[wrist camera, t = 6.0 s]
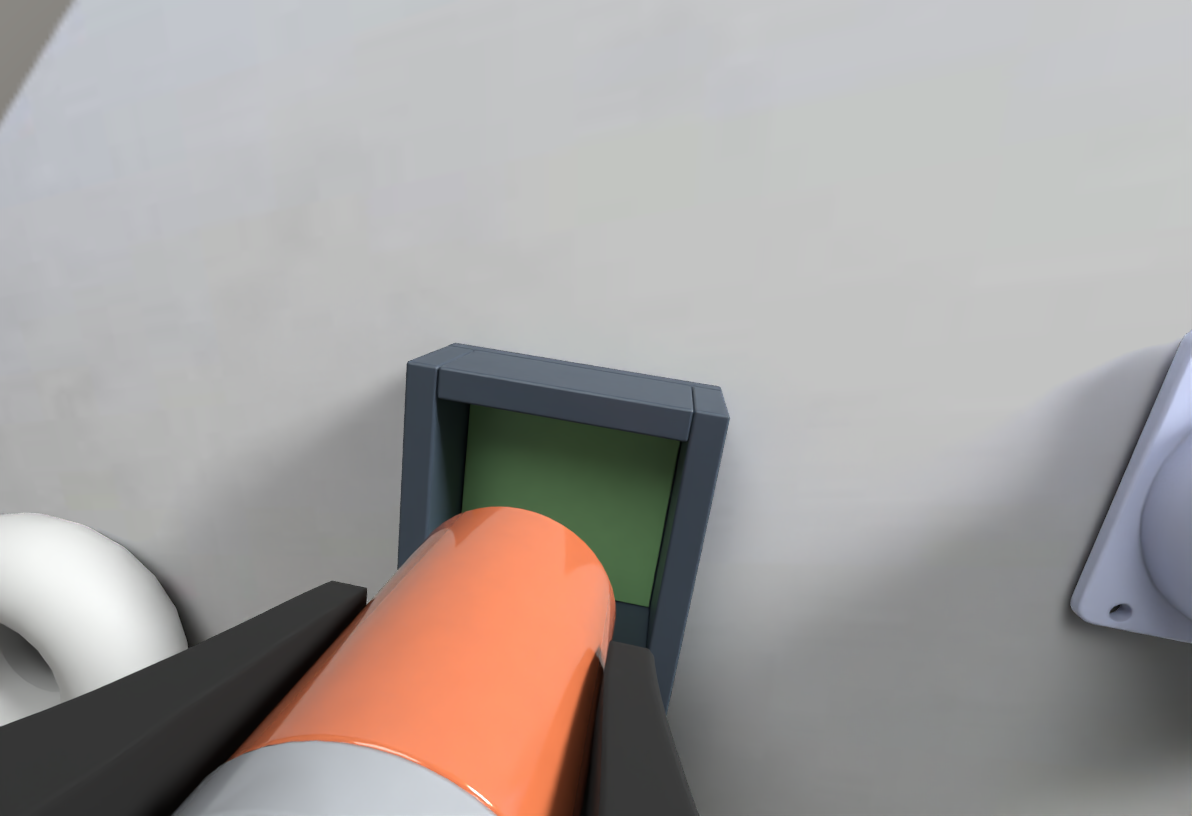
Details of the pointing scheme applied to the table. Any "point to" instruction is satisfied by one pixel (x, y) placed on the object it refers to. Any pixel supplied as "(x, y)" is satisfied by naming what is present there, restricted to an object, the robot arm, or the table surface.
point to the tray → (572, 470)
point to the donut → (74, 614)
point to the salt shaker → (443, 688)
